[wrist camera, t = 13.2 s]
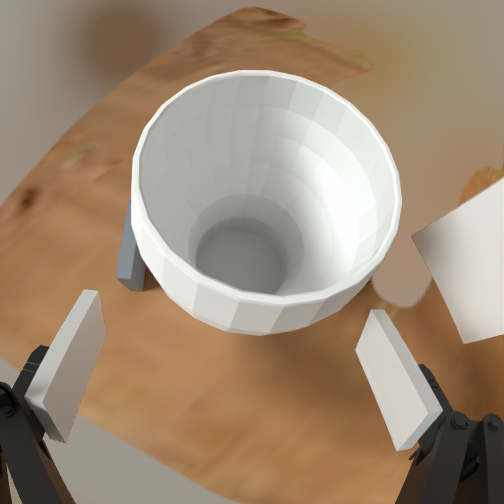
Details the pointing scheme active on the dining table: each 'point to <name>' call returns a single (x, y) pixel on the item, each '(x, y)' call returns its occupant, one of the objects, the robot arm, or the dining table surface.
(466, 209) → the milk
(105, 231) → the dining table surface
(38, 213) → the dining table surface
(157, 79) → the dining table surface
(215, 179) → the cup
